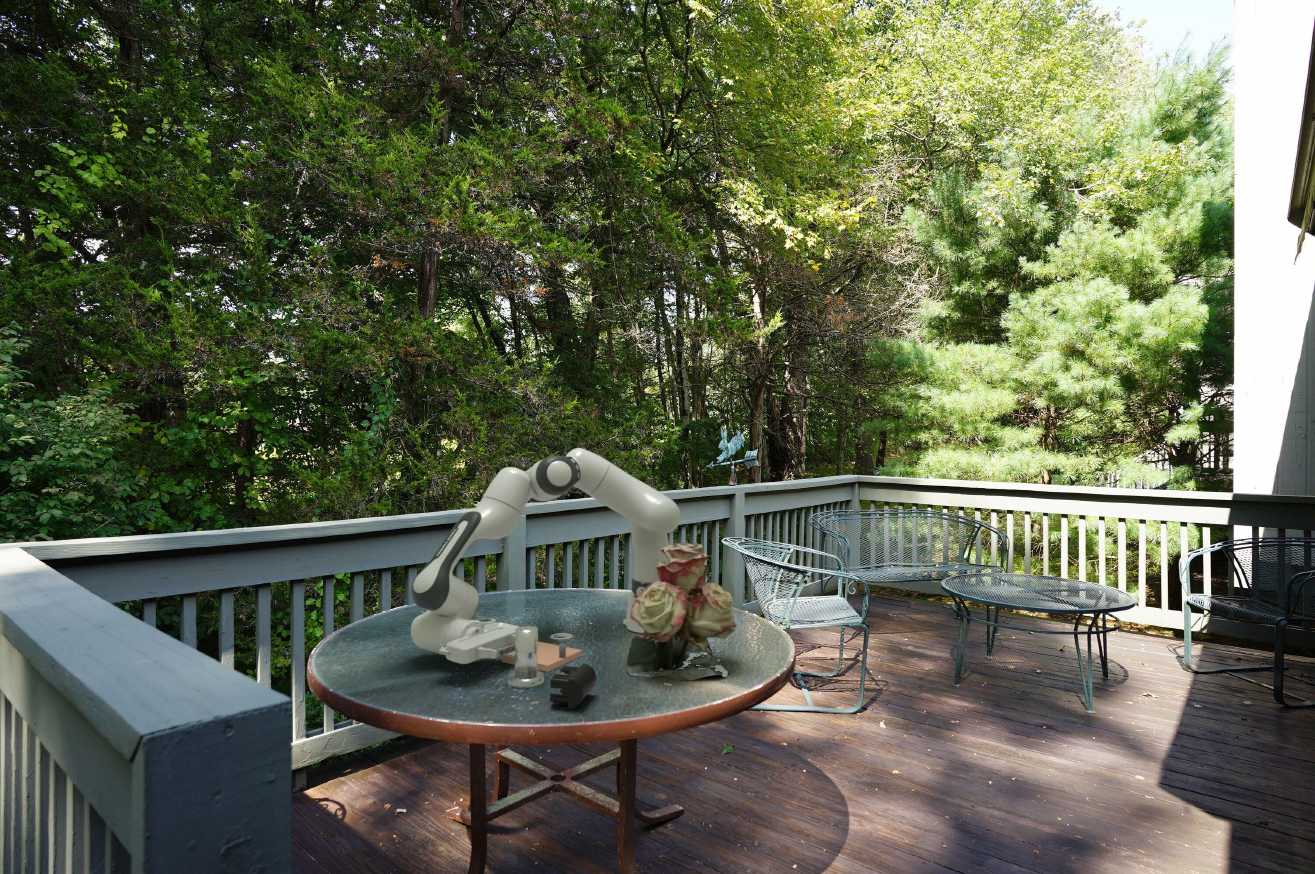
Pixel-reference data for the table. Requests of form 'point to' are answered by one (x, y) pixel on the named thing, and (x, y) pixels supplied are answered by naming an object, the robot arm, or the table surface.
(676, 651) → the rose bouquet
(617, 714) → the table surface
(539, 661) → the locating plate
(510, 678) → the hub
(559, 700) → the end cap
